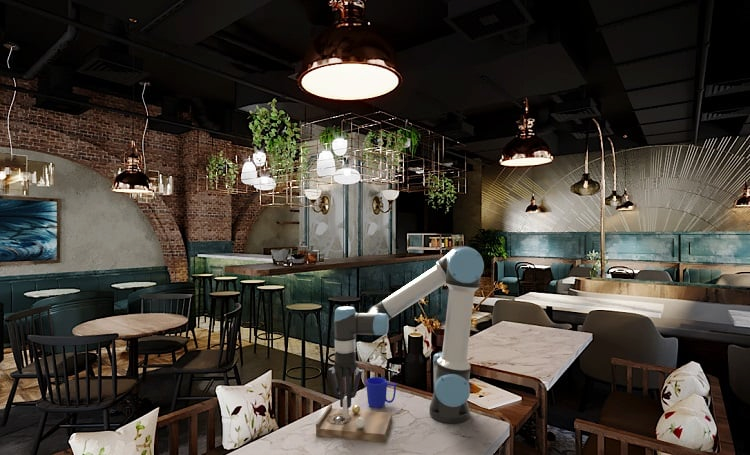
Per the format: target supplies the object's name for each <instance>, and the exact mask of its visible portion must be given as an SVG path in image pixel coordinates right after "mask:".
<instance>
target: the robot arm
mask: <svg viewBox="0 0 750 455" xmlns="http://www.w3.org/2000/svg"><path fill="white" fill-rule="evenodd" d="M484 268H485V264H484V260H483V257H482V255H481V254H480V252H478V251H477V250H476V249H475V248H473V247H470V246H466V245H461V246H460V245H459V246H456V247H453V248H452V249H451V250H449V252H447V254H445V255H444V256H442V257H441V258H440V259H438V260H437V261H436V262H435V265H434V266H433V267H432V268H430V269H428V270H427V271H425V272H424V273H422V274H421V275H419V276H418V277H416V278H415V279H413V280H412V281H410V282H409V283H407V284H406V285H404V286H402V287H401V288H400V289H398V290H396V291H395V292H393V293H391V295H388V297H386V298H385V299H382V301H380V302H379V303H377V304H375V305H372V306H371V307H370V308H369V309H368V311H367V312H357V311H356V308H355V307H353V306H345V305H343V306H339V307H337V308H336V309H334V319H333V324H334V364H333V366H332V367H330V368H328V370H327V373H328V375H329V376H330V380H331V383H332V384H331V385H332V389H333V393H334V396H335V397H338V398H339V406H340V408H342V409H343V418H347V417H348V415H349V410H350V408H352V407H351V406H352V399H354V398H356V396H357V393H358V389H359V384H360V380H361V376H362V374H363V373H364V370H363V369H360V368H359V367H358V364H357V359H356V357H357V356H356V355H357V354H356V335H367V336H368V335H369V336H383V335H387V334H388V333H389V325H390V324H389V321H390V320H391V319H393V318H394V317H395V316H397V315H399V314H400V313H402V312H403V311H405V310H406V309H408V308H409V307H411V306H412V305H414V304H416V303H417V302H419V301H420V300H422V299H423V298H425V297H427V296H428V295H429V294H431V293H432V292H434V291H436V290H438V289H439V288H441V287H442V286H444V285H446V286H447V287H448V289H449V290H448V297H447V307H446V316H445V323H444V332H443V333H444V334H443V343H442V352H437V353H435V354H434V355H433V358H432V359H433V360H432V362H433V395H432V397H431V402H430V405H429V415H430V417H431V418H432V419H434V420H435V421H438V422H441V423H445V424H459V423H464V422H466V421H468V420H469V419H470V415H471V412H470V411H471V410H470V406H469V404H468V399H469V398H470V394H471V386H470V375H471V364H470V363H469V362H468V355H469V354H468V352H469V343H470V334H471V326H472V315H473V309H474V308H473V307H474V297H475V293H476V291H478V289H480V286H481V284H480V283H481V277H482V274H483V273H484ZM336 373H337V374H338V378H337V375H336ZM354 373H355V378H354V379H355V380H354V383H353V386H352V375H354ZM338 382H339V383H338ZM345 382H346V384H345ZM345 386H346V388H345ZM345 390H346V393H345Z"/></svg>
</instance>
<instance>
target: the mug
mask: <svg viewBox="0 0 750 455" xmlns="http://www.w3.org/2000/svg"><path fill="white" fill-rule="evenodd" d="M365 383H366V384H365V385H366V393H367V394H366V396H367V403H368V404H367V405H368V406H369V407H370V408H373V409H380V408H381V409H382V408H383V407H385V404H386V403H389V404H391V403H393V402H394V400H395V397H396V393H397V392H396V391H397V384H396V383H393V382H387V379H386V378H384V377H380V376H376V377H375V376H374V377H370V378H367V379H366V380H365ZM388 386H393V396H392V399H391V400H388V399H387V390H388V389H387V388H388Z"/></svg>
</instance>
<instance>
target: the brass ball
mask: <svg viewBox="0 0 750 455" xmlns="http://www.w3.org/2000/svg"><path fill="white" fill-rule="evenodd" d="M351 410H352V412H353V413H354V414H358V413H359V412H360V411H361V407H360V406H359V405H357V404H355V405H353V406H352V407H351Z"/></svg>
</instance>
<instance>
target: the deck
mask: <svg viewBox="0 0 750 455" xmlns="http://www.w3.org/2000/svg"><path fill="white" fill-rule="evenodd" d="M336 417H341V418H342V422H335V421H334V419H335V418H336ZM359 417H361V418H363V419H364V420H365V426H364V427H363V428H361V429H359V428H357V427H356V425H355V421H356V419H357V418H359ZM392 421H393V413H392V412H385V411H383V412H382V411H373V410H372V411H368V410H360V412H359V413H358V414H354V413H353V412H352V409H349V415H348V417H347V418H343V408H334V407H333V404H332V403H331V404H328V406H327V408H326V409H325V411H324V412H323V413H322V415H321V417H320V418H319V419H318V421H317V422H316V423H315V436H316V437H327V438H338V439H349V440H358V441H359V440H360V441H361V440H362V441H371V442H380V443H381V442H383V443H385V442H386V439H387V436H388V433H389V430H390V427H391V424H392Z"/></svg>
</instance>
